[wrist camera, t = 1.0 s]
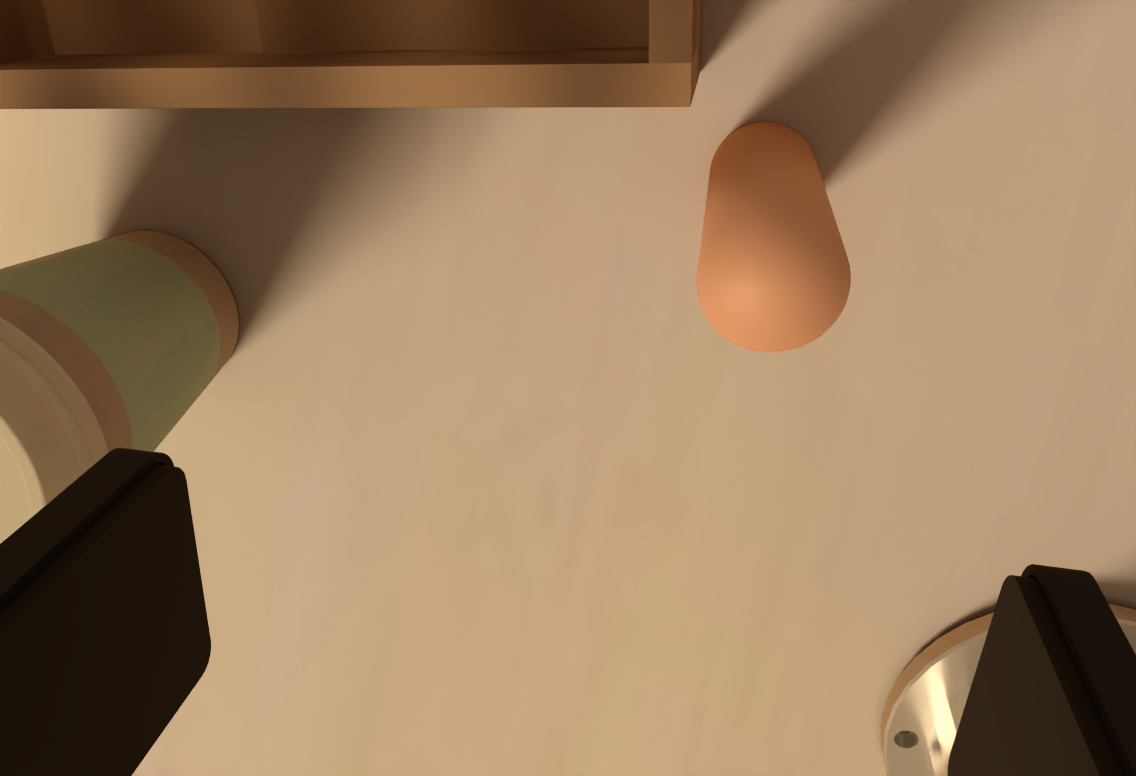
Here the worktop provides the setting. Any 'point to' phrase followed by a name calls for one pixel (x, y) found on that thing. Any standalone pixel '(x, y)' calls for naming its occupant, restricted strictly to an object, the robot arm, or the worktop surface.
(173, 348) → the coffee cup
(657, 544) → the worktop surface
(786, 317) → the peg
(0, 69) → the bore box
